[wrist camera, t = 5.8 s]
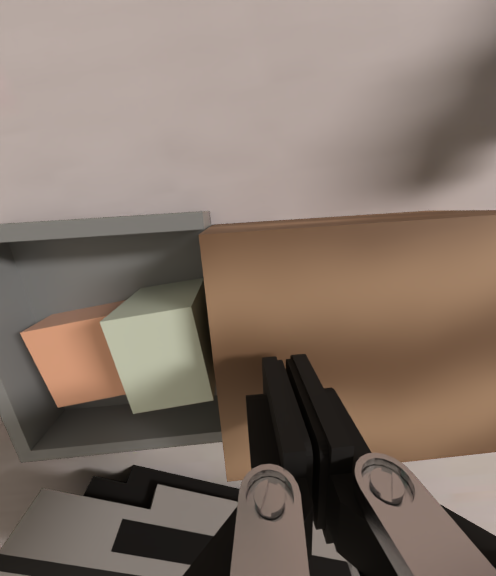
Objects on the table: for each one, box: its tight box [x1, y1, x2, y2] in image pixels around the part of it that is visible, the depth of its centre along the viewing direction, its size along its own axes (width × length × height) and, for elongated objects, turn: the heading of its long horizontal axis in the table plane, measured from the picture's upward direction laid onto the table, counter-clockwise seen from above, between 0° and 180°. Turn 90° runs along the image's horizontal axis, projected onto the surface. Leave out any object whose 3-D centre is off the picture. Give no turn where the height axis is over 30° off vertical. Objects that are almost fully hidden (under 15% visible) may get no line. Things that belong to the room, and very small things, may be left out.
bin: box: [0, 211, 223, 463], centre depth 15 cm, size 14×12×4 cm
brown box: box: [199, 210, 496, 482], centre depth 14 cm, size 12×14×7 cm
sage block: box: [100, 278, 216, 414], centre depth 14 cm, size 5×5×4 cm
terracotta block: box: [20, 300, 126, 408], centre depth 15 cm, size 5×5×2 cm
